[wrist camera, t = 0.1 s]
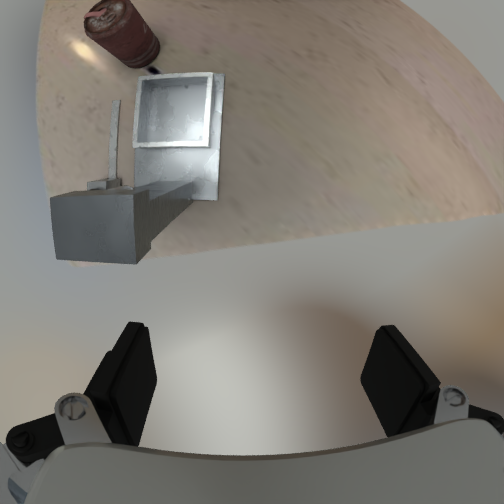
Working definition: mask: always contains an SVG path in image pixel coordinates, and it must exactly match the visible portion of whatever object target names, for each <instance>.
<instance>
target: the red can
mask: <svg viewBox="0 0 504 504" xmlns="http://www.w3.org/2000/svg"><path fill="white" fill-rule="evenodd" d="M84 19H85V20H84V28H85V33H86V35H87V36H88V37H90V38H91V39H92V40H94V41H95V42H96V43H98V44H99V45H100V46H102V47H103V48H104V49H106V50H107V51H108V52H110V53H111V54H112V55H114V56H115V57H116V58H118V59H119V60H120V61H121V62H123V63H124V64H125V65H127V66H128V67H132V68H140V67H142V66H145V65H147V64H149V63H150V62H151V61H152V60H153V59H154V58H155V57H156V56H157V54H158V52H159V48H160V44H159V41H158V39H157V38H156V36H155V35H154V33H153V32H152V31H151V29H150V28H149V26H148V25H147V24H146V22H145V21H144V19H143V18H142V17H141V15H140V14H139V12H138V11H137V10H136V8H135V7H134V6H133V4H132V3H131V1H130V0H101V1H100V2H98V3H97V4H96V5H94V6H93V7H92V8H91V9H90V11H89V12H88V13H87V14H86V15H85V16H84Z"/></svg>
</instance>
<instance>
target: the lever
mask: <svg viewBox="0 0 504 504" xmlns="http://www.w3.org/2000/svg"><path fill="white" fill-rule="evenodd" d="M116 187H120V178H117V179H101V180H96V181H91V182H87V191H89V190H109V189H112V188H116Z"/></svg>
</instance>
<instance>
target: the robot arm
mask: <svg viewBox="0 0 504 504" xmlns="http://www.w3.org/2000/svg"><path fill="white" fill-rule="evenodd" d="M440 383H441V382H440V381H439V380H438V378H437V377H436V376H435V375H434V373H433V372H432V371H431V369H430V368H429V367H428V366H427V364H426V363H425V362H424V361H423V359H422V358H421V357H420V356H419V354H418V353H417V352H416V351H415V349H414V348H413V347H412V346H411V345H410V343H409V342H408V341H407V340H406V339H405V337H404V336H403V335H402V334H401V333H400V332H399V330H398V329H397V328H396V327H395V326H394V325H386V326H381V327H380V328H379V329H378V330H377V331H376V333H375V336H374V339H373V343H372V346H371V349H370V352H369V355H368V357H367V360H366V363H365V366H364V369H363V371H362V374H361V384H362V386H363V388H364V390H365V392H366V394H367V396H368V398H369V400H370V402H371V404H372V406H373V408H374V410H375V412H376V414H377V417H378V419H379V420H380V423H381V425H382V427H383V429H384V431H385V433H386V435H387V437H388V438H384V439H380V440H375V441H371V442H367V443H362V444H357V445H352V446H346V447H340V448H334V449H328V450H320V451H312V452H303V453H292V454H278V455H252V456H251V455H248V456H247V455H246V456H240V455H239V456H237V455H209V454H194V453H184V452H174V451H165V450H157V449H151V448H144V447H138V446H139V442H140V439H141V436H142V432H143V428H144V425H145V421H146V418H147V414H148V411H149V407H150V404H151V401H152V397H153V393H154V390H155V387H156V384H157V375H156V370H155V365H154V360H153V354H152V348H151V342H150V336H149V329H148V327H144V324H143V323H139V322H128V324H127V325H126V327H125V329H124V330H123V332H122V334H121V335H120V337H119V339H118V341H117V342H116V344H115V346H114V347H113V349H112V351H108V352H107V353H106V354H105V356H104V358H103V360H102V361H101V363H100V365H99V367H98V368H97V370H96V372H95V374H94V375H93V377H92V380H91V381H90V383H89V385H88V387H87V388H86V390H85V392H84V394H80V393H69V394H66V395H64V396H62V397H61V398H60V399H58V401H57V402H56V404H55V408H54V409H55V413H54V414H51V415H48V416H45V417H42V418H39V419H36V420H33V421H30V422H27V423H24V424H20V425H17V426H15V427H13V428H12V429H11V430H10V431H9V432H8V434H7V437H6V443H5V444H4V445H3V444H2V443H1V442H0V504H504V419H503V418H502V417H501V416H500V415H499V414H497V413H495V412H491V411H488V410H485V409H481V408H479V407H476V406H472V405H469V398H468V396H467V394H466V392H465V391H463V390H462V389H461V388H459V387H457V386H452V385H450V386H445V387H443V388H442V389H440V388H439V385H440Z"/></svg>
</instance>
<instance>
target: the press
mask: <svg viewBox="0 0 504 504" xmlns="http://www.w3.org/2000/svg"><path fill="white" fill-rule="evenodd" d="M224 82H225V74H213V72H195V73H172V74H159V75H148V76H139V77H138V84H137V93H136V103H135V114H134V128H133V146H132V148H135V168H134V188H132V187H130V186H127V185H124V186H120V187H116V188H112V189H109V190H89V191H73V192H69V193H65V194H62V195H58V196H54V197H51V198H50V207H51V219H52V230H53V238H54V246H55V253H56V259H59V260H73V261H88V262H104V263H120V264H137V263H138V262H139V261H140V260H141V259H142V258H143V257H144V256H145V255H146V253H147V252H148V251H149V250H150V249H151V241H152V240H153V239H154V238H155V237H156V236H157V235H158V234H159V233H160V232H161V231H162V230H163V229H164V228H165V227H167V226H168V225H169V224H170V223H171V222H172V221H173V220H174V219H175V218H176V217H177V216H178V215H179V214H180V213H181V212H183V211H184V210H185V209H186V208H187V207H188V206H189V205H190V204H191V203H192V202H193V199H196V200H217V199H218V181H219V159H220V141H221V124H222V109H223V95H224ZM120 102H121V100H115V101H113V102H112V113H111V126H110V143H109V179H117V144H118V126H119V113H120Z"/></svg>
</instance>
